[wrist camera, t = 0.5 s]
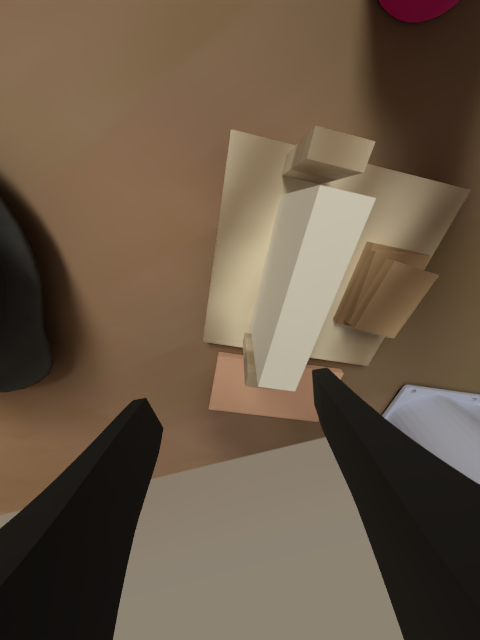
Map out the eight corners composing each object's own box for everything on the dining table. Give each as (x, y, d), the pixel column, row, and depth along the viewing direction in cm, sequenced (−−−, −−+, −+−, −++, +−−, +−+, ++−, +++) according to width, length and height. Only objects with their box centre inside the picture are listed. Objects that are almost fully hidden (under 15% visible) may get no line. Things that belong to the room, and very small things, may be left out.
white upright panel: (311, 202, 13) (376, 198, 7) (274, 326, 18) (295, 391, 11) (280, 195, 13) (320, 184, 7) (249, 322, 17) (258, 386, 11)
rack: (456, 191, 14) (588, 181, 9) (362, 359, 21) (406, 412, 15) (231, 134, 13) (228, 82, 7) (204, 335, 19) (192, 385, 14)
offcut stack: (419, 252, 15) (450, 260, 13) (378, 326, 18) (398, 342, 16) (364, 240, 15) (386, 246, 12) (331, 318, 17) (344, 334, 15)
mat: (340, 369, 21) (343, 373, 21) (316, 417, 24) (317, 421, 24) (218, 351, 20) (218, 355, 19) (209, 404, 23) (208, 409, 22)
